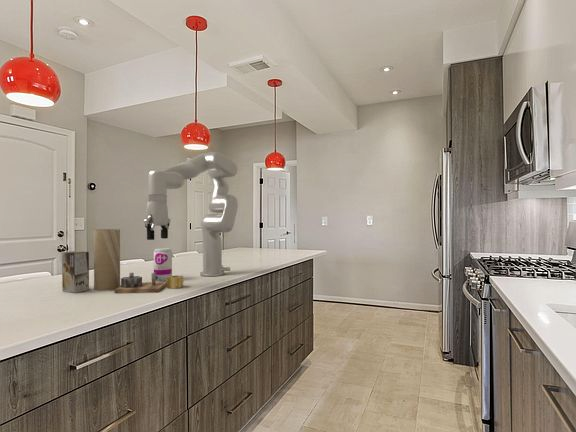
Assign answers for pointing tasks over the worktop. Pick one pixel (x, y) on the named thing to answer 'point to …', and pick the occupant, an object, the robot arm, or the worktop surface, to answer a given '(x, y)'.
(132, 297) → the worktop surface
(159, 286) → the gear board
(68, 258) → the coffee box
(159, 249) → the supplement can
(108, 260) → the tube
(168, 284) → the brass gear
